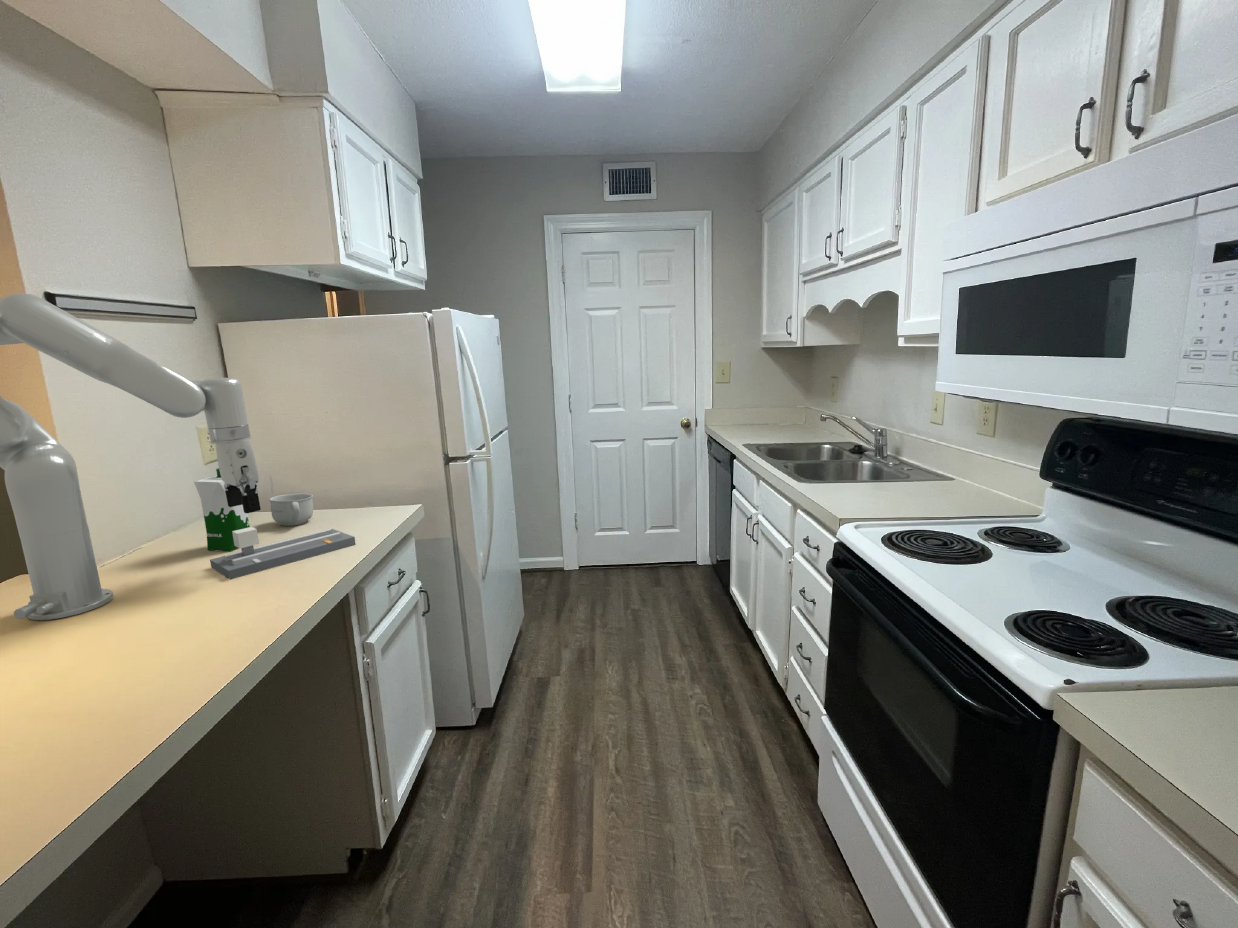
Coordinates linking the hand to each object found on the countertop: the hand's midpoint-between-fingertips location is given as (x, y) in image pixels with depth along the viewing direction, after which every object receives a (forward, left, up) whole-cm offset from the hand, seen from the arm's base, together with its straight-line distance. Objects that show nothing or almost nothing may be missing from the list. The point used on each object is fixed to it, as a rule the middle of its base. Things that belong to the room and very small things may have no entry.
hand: (244, 508), depth 133 cm
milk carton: (+15, +13, -14) cm, 24 cm away
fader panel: (+5, -5, -14) cm, 15 cm away
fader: (0, +1, -11) cm, 11 cm away
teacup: (+33, +5, -14) cm, 36 cm away
